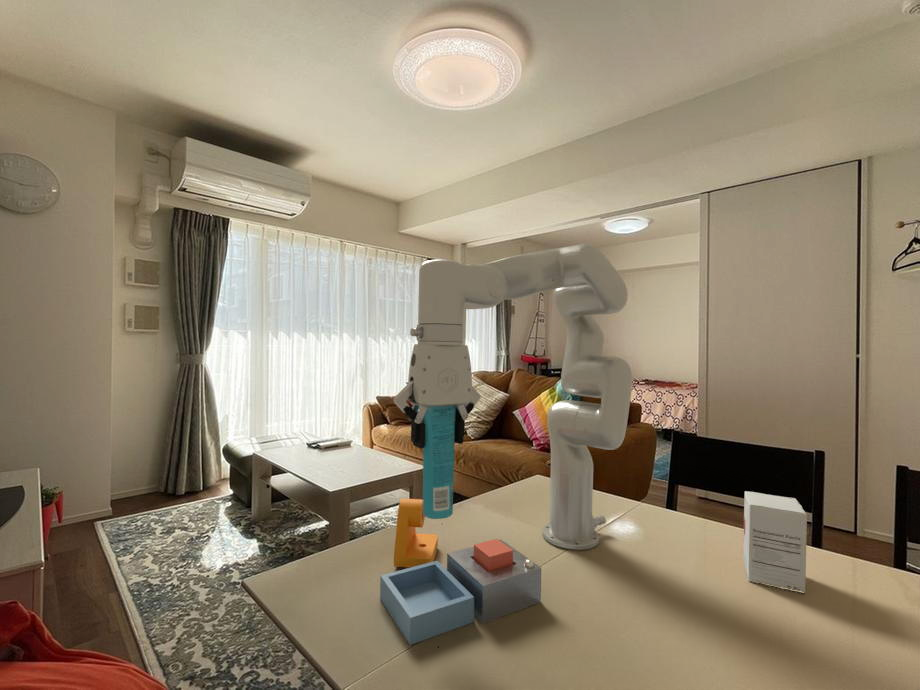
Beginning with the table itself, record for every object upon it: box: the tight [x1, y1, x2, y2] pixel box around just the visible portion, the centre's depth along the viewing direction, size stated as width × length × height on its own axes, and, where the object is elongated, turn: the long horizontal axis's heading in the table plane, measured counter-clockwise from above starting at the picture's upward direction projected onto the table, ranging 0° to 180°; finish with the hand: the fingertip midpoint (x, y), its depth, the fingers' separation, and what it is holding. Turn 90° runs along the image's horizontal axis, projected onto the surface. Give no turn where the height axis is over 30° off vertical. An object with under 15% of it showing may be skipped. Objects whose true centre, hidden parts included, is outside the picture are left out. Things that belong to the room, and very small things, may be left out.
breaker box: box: [446, 539, 542, 624], centre depth 76 cm, size 12×12×7 cm
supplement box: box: [742, 490, 808, 593], centre depth 84 cm, size 9×9×15 cm
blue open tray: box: [379, 560, 475, 646], centre depth 71 cm, size 11×13×4 cm
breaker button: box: [473, 538, 513, 572], centre depth 76 cm, size 5×5×7 cm
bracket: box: [393, 498, 439, 568], centre depth 89 cm, size 11×7×12 cm, turn 175°
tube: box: [422, 406, 456, 520], centre depth 71 cm, size 7×5×19 cm, turn 141°
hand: (438, 443), depth 71 cm, fingers closed on tube, 6 cm apart
